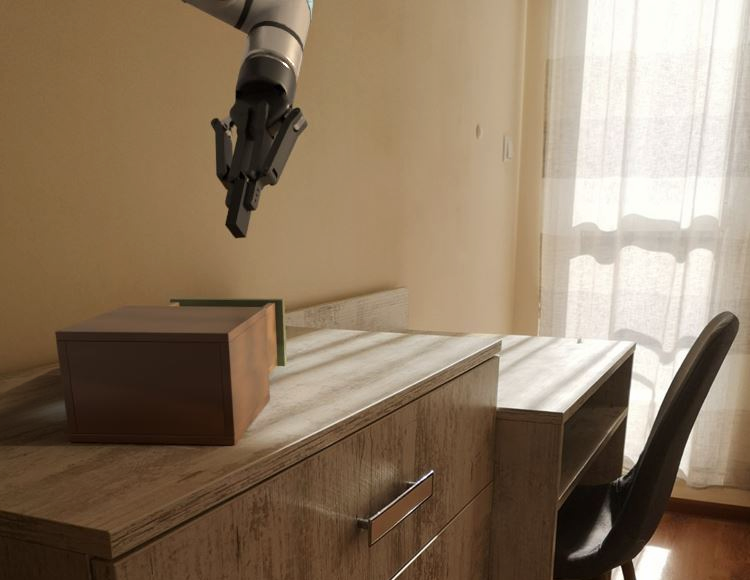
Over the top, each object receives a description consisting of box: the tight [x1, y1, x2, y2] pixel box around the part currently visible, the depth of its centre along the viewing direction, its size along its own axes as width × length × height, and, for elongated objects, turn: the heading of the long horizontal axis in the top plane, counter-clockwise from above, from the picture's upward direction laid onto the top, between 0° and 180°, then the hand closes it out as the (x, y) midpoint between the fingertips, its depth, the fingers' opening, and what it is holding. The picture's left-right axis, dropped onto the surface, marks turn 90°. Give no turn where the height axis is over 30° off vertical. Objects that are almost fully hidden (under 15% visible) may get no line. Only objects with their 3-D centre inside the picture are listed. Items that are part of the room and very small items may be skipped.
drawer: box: [164, 297, 288, 375], centre depth 93 cm, size 20×13×8 cm
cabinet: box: [54, 305, 271, 446], centre depth 77 cm, size 17×15×10 cm
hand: (235, 231), depth 100 cm, fingers closed
